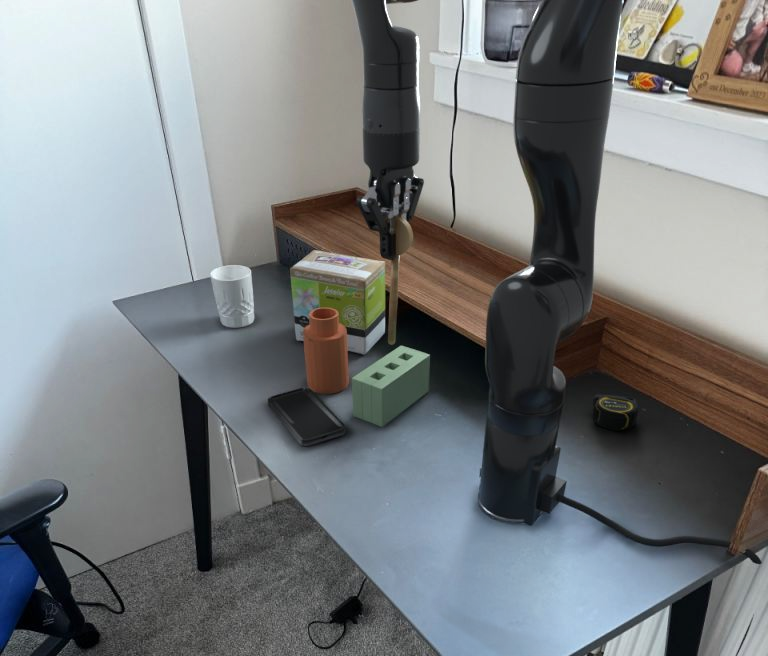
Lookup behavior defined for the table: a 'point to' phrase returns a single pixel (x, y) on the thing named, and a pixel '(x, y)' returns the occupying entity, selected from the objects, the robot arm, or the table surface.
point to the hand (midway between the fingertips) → (391, 256)
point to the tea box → (341, 295)
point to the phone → (306, 416)
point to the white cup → (233, 295)
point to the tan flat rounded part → (397, 271)
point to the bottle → (326, 352)
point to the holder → (390, 385)
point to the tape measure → (615, 411)
